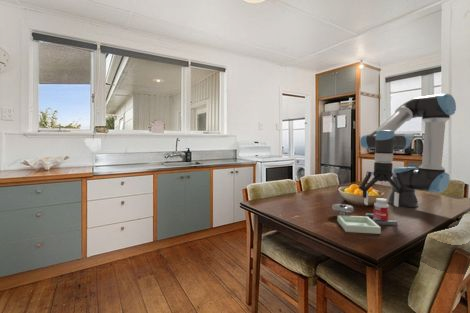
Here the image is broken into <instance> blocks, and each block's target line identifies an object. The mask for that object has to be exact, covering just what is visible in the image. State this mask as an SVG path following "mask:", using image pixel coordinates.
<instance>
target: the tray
mask: <svg viewBox="0 0 470 313" xmlns="http://www.w3.org/2000/svg"><path fill="white" fill-rule="evenodd" d="M336 218H337V222H338V224H339V225H340V226H341V227H342V229H343V230H344V232H346V233H360V234H361V233H362V234H363V233H364V234H374V235H375V234H379V235H381V233H382V227H381V225H377V224H376V223H375V222H374V221H373V220H374V219H372V218H369V217H365V216H360V215H345V216H343V215H340V214H339V215H337V217H336Z"/></svg>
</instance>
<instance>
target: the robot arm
mask: <svg viewBox="0 0 470 313" xmlns="http://www.w3.org/2000/svg"><path fill="white" fill-rule="evenodd" d="M456 103H457V102H456V100H455V98H454V96H453V95H452V94H450V93H438V94H431V95H425V96H418V97H417V96H416V97H414V98H411V99H410V100H408V101H406V102H404V103H403V104H401V105H400V106H399V107H397V108H396V110H395V112H394V113H393V114H392V115H391V116H390V117H389V118H388V119H387V120H385V121H384V122H382V124H380V126H378V127H377V128H376V129H375V130H374V131H373V132H371V133H370V134H364V135H362V136H361V138H360V140H359V143H360V146H361V147H362V148H363V149H368V150H372V149H373V150H374V161H375V162H374V164H373V171H369V170H368V171H366V174H365V177H364V178H363V180H362V182H361V183H360V185H359V187H358V189H359V190H360V191H362V198H363V200H364V201H363V204H364V205H365V206H368V205H369V193H370V192H369V191H368V190H370V189H371V188H372V186H374V185H375V184H376V183H377V182H388V183H389V184H390V186H391V192H390V193H389V196H388V198H387V204H390V205H393V206H395V207H398V208H399V207H405V208H417V207H418V206H419V200H418V198H417V195H416V190H418V191H424V192H429V193H433V194H435V193H436V194H440V193H441V194H442V193H443V192H445V191H446V189H447V188H448V186H449V183H450V181H451V180H450V179H451V178H450V175H449V173H448V172H446V169H445V168H444V166H443V165H442V164H443V155H444V153H443V152H444V142H445V134H446V133H445V132H446V122H447V121H449V120H450V118H451V116H453V115H454V114H455V113H456V110H457V104H456ZM416 118H422V121H423V122H424V135H423V136H424V137H423V145H422V146H423V147H422V149H423V150H422V156H421V157H422V163H421V164H420V165H419V166H418V168H417V167H416V166H399V167H394V168H393V164H394V163H393V161H394V151H402V150H407V149H408V148H409V146H411V139H410V137H409V136H408V135H404V134H395V132H396V131H397V130H398V129H399V128H400V127H402V126H403V125H404V124H405V123H406V122H409V121H411V120H412V119H416ZM372 176H374V177H373V178H371V177H372ZM370 179H371V180H370Z"/></svg>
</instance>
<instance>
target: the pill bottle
mask: <svg viewBox="0 0 470 313" xmlns="http://www.w3.org/2000/svg"><path fill="white" fill-rule="evenodd" d="M375 201H376V202H374V204H373V214H374V216H373V218H372V220H389V210H390V208H389V207H390V206H389V203H388V198H382V197H378V198H375Z"/></svg>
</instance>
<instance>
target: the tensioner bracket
mask: <svg viewBox="0 0 470 313" xmlns="http://www.w3.org/2000/svg"><path fill="white" fill-rule="evenodd" d="M373 216H374V213H365V216H364V217H369V218H370V219H372V220H373V221H374V222H375V223H376V224H377V225H379V226H394V227H396V226H397V227H398V223H399V222H398V220H389V219H388V220H374V219H373Z"/></svg>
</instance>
